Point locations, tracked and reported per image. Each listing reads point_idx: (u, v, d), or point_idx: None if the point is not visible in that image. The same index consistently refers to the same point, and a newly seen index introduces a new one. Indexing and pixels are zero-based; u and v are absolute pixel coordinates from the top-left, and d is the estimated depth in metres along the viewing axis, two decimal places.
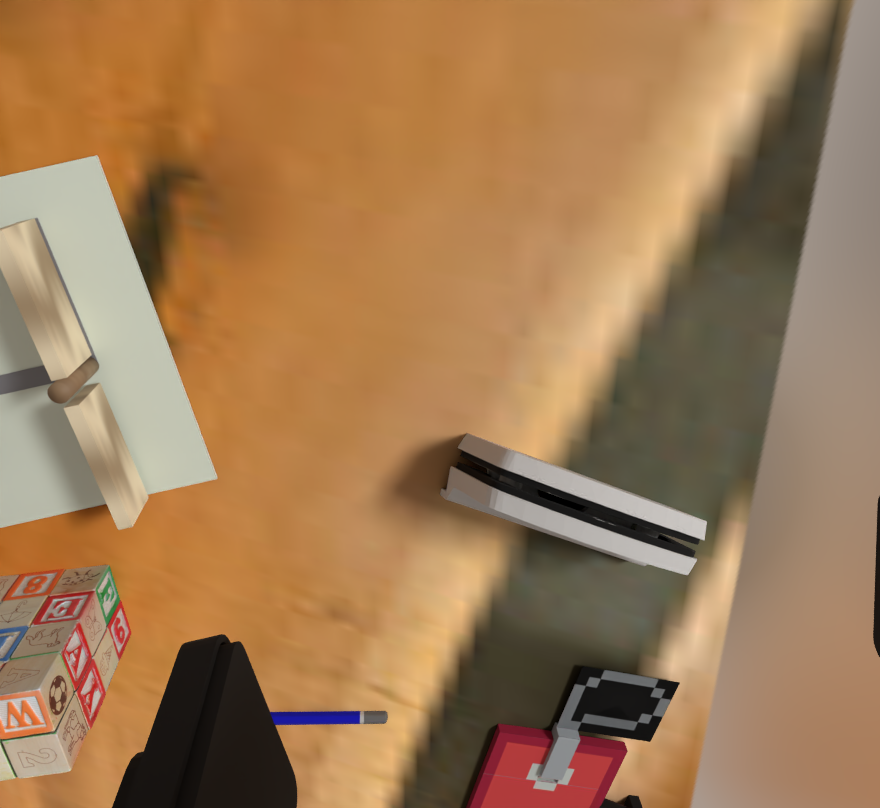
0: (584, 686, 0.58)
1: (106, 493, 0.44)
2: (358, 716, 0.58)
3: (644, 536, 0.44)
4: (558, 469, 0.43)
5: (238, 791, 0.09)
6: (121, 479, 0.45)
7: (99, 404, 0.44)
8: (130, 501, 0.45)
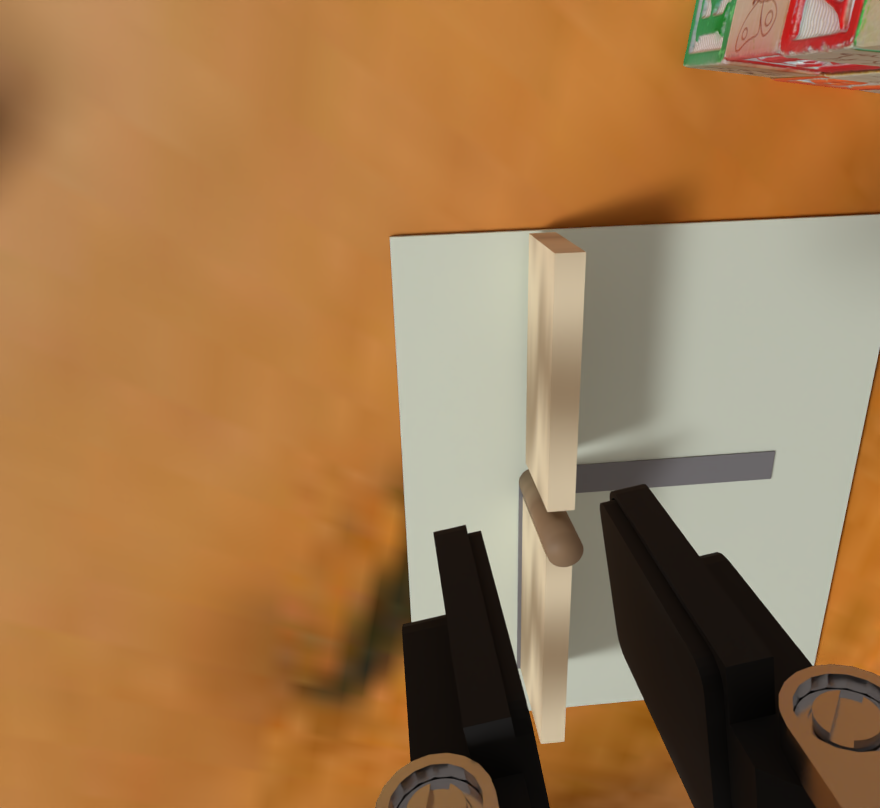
0: None
1: (573, 339, 0.22)
2: None
3: None
4: None
5: None
6: (544, 337, 0.23)
7: (532, 453, 0.26)
8: (545, 287, 0.22)
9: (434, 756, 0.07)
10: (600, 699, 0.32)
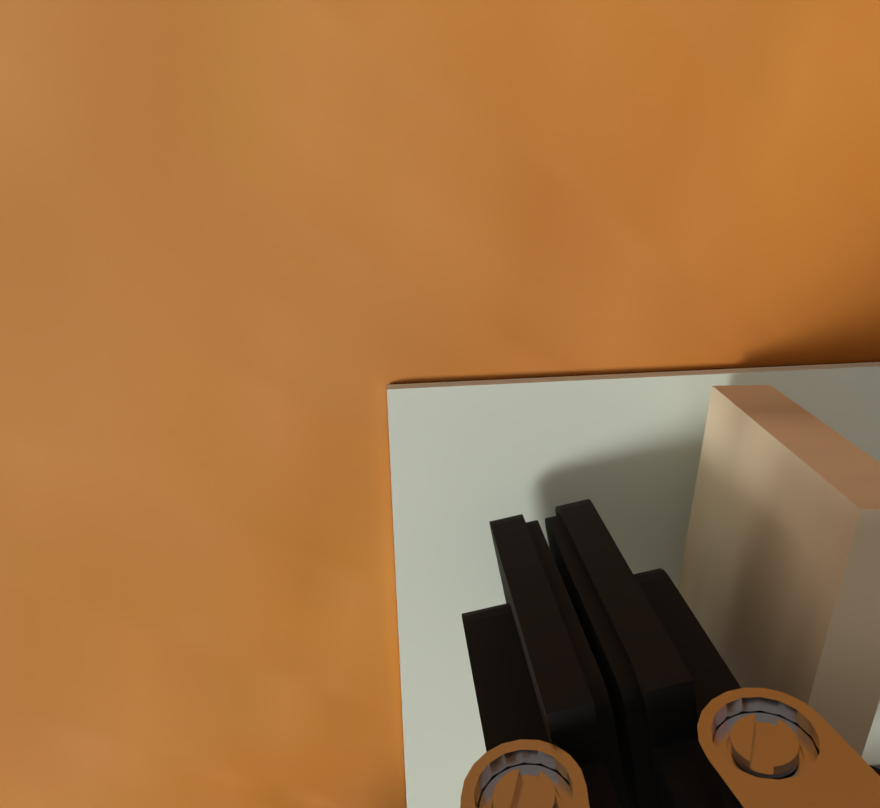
0: None
1: (860, 696, 0.09)
2: None
3: None
4: None
5: None
6: (760, 649, 0.10)
7: None
8: (784, 549, 0.09)
9: (516, 742, 0.07)
10: None
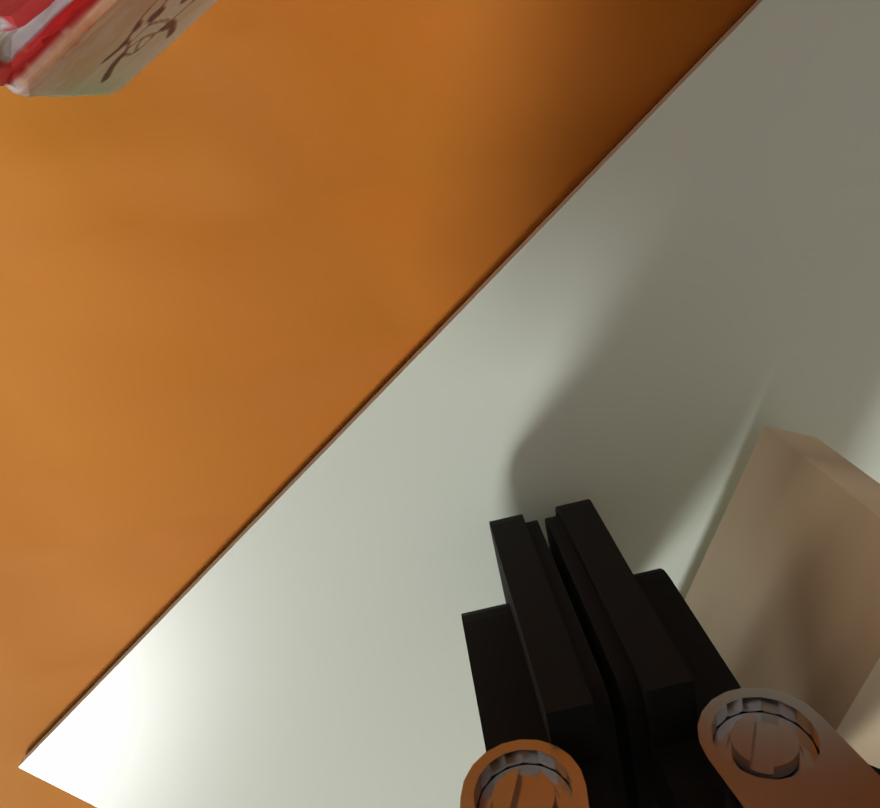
0: None
1: (874, 750, 0.09)
2: None
3: None
4: None
5: None
6: None
7: None
8: (827, 593, 0.09)
9: (516, 742, 0.07)
10: None
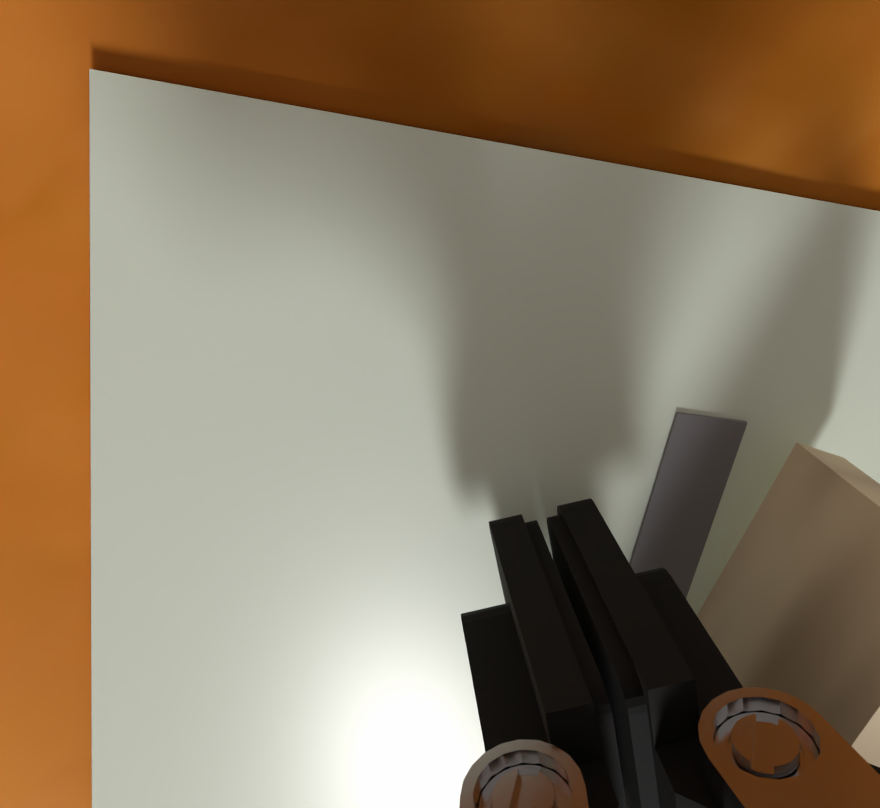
0: None
1: None
2: None
3: None
4: None
5: None
6: (796, 694, 0.10)
7: None
8: (855, 604, 0.10)
9: (515, 742, 0.07)
10: None
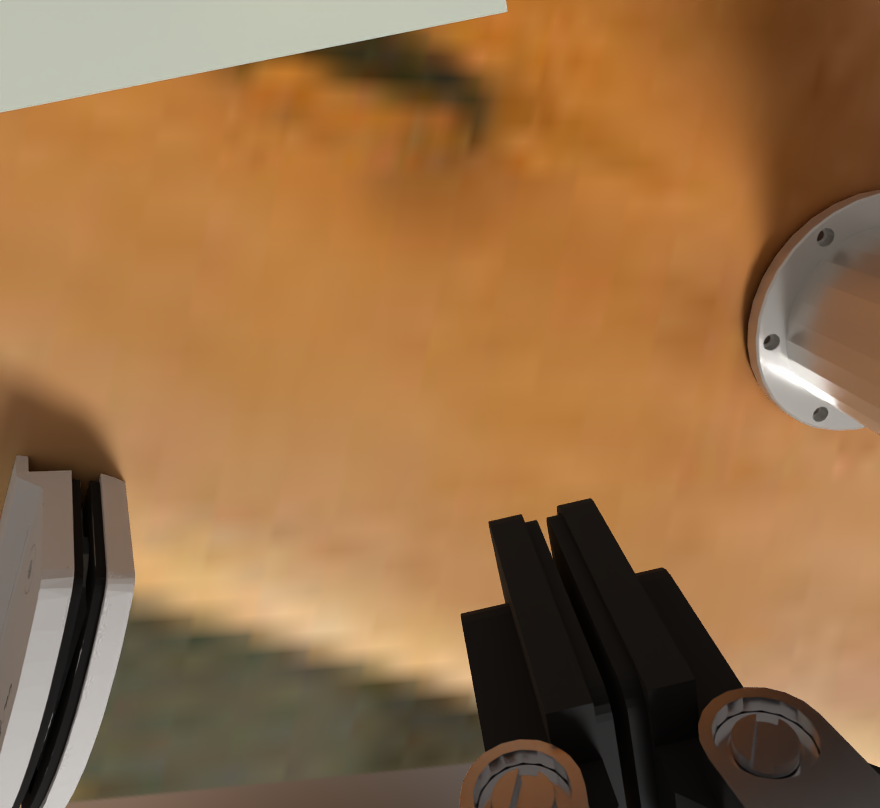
0: None
1: None
2: None
3: (31, 774, 0.32)
4: (118, 652, 0.31)
5: None
6: None
7: None
8: None
9: (515, 742, 0.07)
10: None
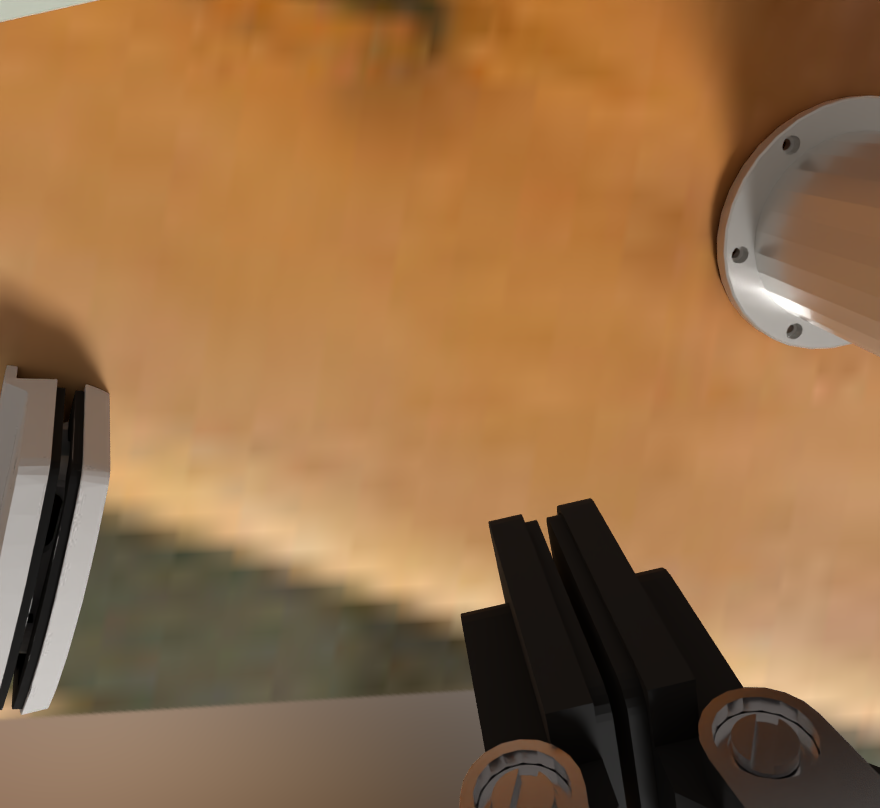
0: None
1: None
2: None
3: (15, 659, 0.34)
4: (94, 542, 0.33)
5: None
6: None
7: None
8: None
9: (515, 742, 0.07)
10: None
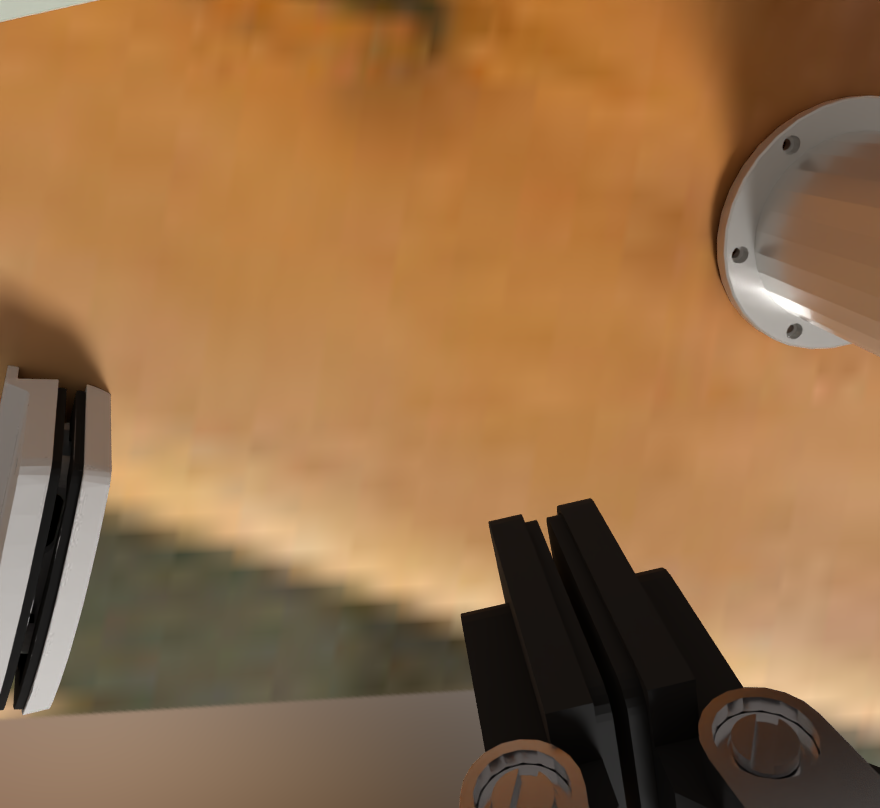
0: None
1: None
2: None
3: (17, 660, 0.34)
4: (96, 542, 0.33)
5: None
6: None
7: None
8: None
9: (515, 742, 0.07)
10: None
